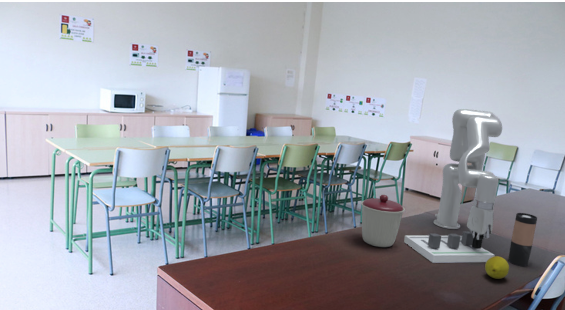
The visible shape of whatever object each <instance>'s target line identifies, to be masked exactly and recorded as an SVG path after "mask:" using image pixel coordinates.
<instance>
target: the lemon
mask: <svg viewBox="0 0 565 310" xmlns="http://www.w3.org/2000/svg"><path fill="white" fill-rule="evenodd" d="M484 265H485V267H484V270H485V272H486V275H488V276H489V277H491V278H492V279H497V280H500V279H503V278H505V277H506V276H507V275H508V274H509V270H510V265H509V263H508V261H507V259H505V258H503V257H501V256H497V255H496V256H494V257H491V258H490V259H488V260H487V262H485V264H484Z"/></svg>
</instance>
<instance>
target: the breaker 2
mask: <svg viewBox="0 0 565 310" xmlns="http://www.w3.org/2000/svg"><path fill="white" fill-rule="evenodd" d="M447 236H448V241H447V246H449V247H450V248H459V243H460V237H461V236H462V235H459V234H457V233H448V235H447Z"/></svg>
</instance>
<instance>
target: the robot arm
mask: <svg viewBox="0 0 565 310" xmlns="http://www.w3.org/2000/svg"><path fill="white" fill-rule="evenodd" d="M452 128H453V129H452V130H453V135H452V139H451V143H450V144H451V145H450V150H449V157H450V160H452V161H453V162H454V163H447V164H445V165H444V167H442V185H441V187H442V188H441V193H440V194H441V195H440V198H439V199H440V200H439V205H438V213H435V214H434V216H435V217H436V218H435V219H434V220H433V224H434V225H436V226H438V227H440V228H443V229H448V230H459V229H461V225H460V223H458V220H459V214H460V210H461V203H462V196H463V191H462V189H461V187H460V186H459V185H461V186H462V187H465V188H471V189H475V194H474V195H475V196H474V201H473V204H472V206H471V208H470V210H469V213H468V218H467V222H466V227H467V228H468V230H469V231H470V232H472V234H473V243H472V247H473V248H474V249H481V247H482V245H483V244H482V243H483V241H484V240H485V239H490V235H491V234H492V232H493V229H494V228H493V227H494V219H495V217H494V216H495V214H494V213H495V212H494V207H495V202H496V198H497V197H496V196H497V191H498V187H499V186H498V185H499V180H500V179H499V177H497V176H496V175H495V174H494V172H491V171H487V170H483V167H484V164H485V163H484V162H485V157H486V153H488V152H489V151H490V140H489V139H490V138H499V137H500V136H501V134H502V132H503V124H502V121H501V119H500V118H499V117H498V116H497V115H496V114H495V113H494V112H491V111H485V110H477V109H467V108H465V109H464V108H463V109H462V108H461V109H459V108H458V109H457V110H455V111H454V112H453V115H452ZM455 162H457V163H455Z"/></svg>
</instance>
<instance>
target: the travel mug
mask: <svg viewBox="0 0 565 310" xmlns="http://www.w3.org/2000/svg"><path fill="white" fill-rule="evenodd" d="M515 214H516V215H515V220H514V226H513V230H512V235H511V239H510V244H509V245H510V246H509V251H508V252H509V253H508V259H507V260H508V261H507V262H509V264H512V265H516V266H520V267H527V266H528V265H529V261H530V256H531V252H532V249H533V243H534V237H535V233H536V229H537V228H536V227H537V221H538V217H537V216H536V215H533V214H529V213H525V212H517V213H515Z"/></svg>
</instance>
